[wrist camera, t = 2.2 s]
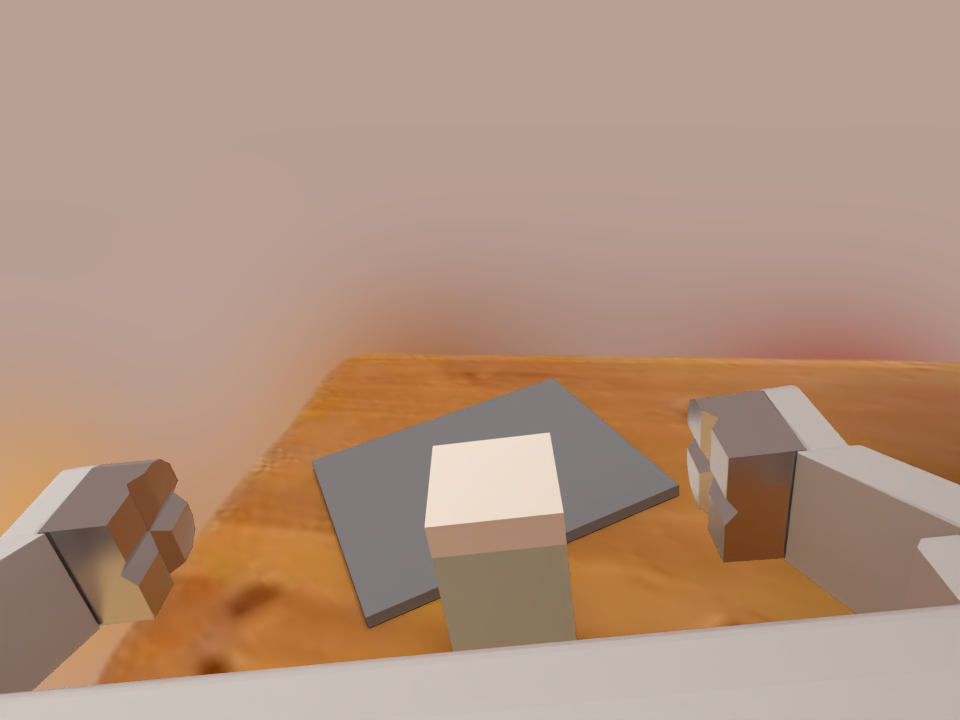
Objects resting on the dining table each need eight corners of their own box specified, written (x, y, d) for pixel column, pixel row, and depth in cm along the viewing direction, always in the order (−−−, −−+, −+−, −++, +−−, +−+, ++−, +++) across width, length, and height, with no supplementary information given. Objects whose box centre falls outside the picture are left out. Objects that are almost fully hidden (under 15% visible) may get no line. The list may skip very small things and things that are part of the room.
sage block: (570, 627, 33) (550, 432, 28) (584, 721, 29) (563, 512, 23) (472, 636, 34) (432, 445, 28) (471, 731, 29) (424, 527, 24)
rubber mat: (553, 386, 54) (552, 378, 54) (678, 495, 41) (678, 484, 40) (314, 469, 48) (311, 461, 48) (368, 628, 35) (365, 617, 35)
